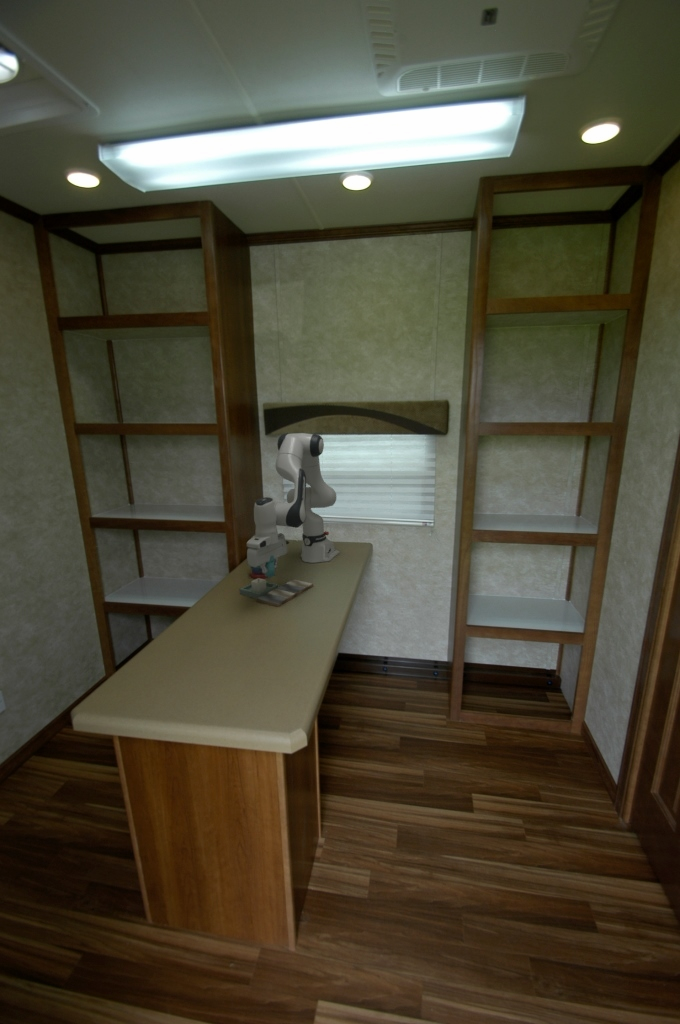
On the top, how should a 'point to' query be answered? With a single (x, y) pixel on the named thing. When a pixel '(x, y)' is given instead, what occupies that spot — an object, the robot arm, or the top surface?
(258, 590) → the die
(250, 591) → the tray
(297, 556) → the top surface
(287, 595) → the board
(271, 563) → the pawn
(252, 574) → the stacking bear
